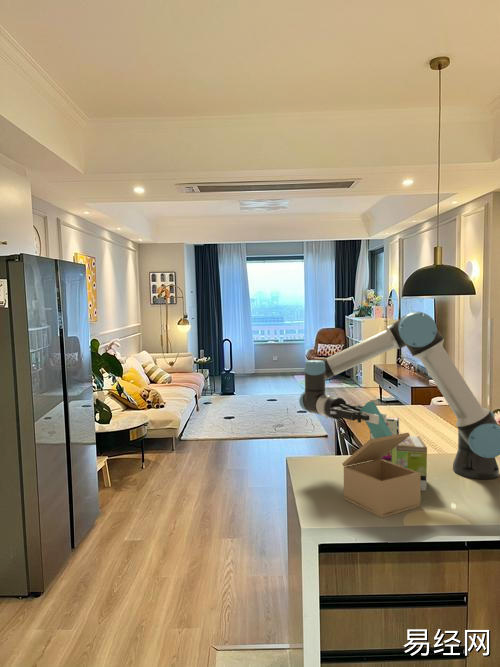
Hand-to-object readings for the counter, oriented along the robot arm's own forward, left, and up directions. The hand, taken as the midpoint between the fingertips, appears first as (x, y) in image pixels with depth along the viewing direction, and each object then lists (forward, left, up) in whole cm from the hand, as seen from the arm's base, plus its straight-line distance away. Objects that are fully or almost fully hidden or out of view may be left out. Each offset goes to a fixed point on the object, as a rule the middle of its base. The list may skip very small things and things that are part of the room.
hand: (381, 419), depth 136 cm
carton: (0, 0, -26) cm, 26 cm away
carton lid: (+1, -2, -10) cm, 11 cm away
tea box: (-14, -17, -26) cm, 34 cm away
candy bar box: (-14, -45, -26) cm, 54 cm away
